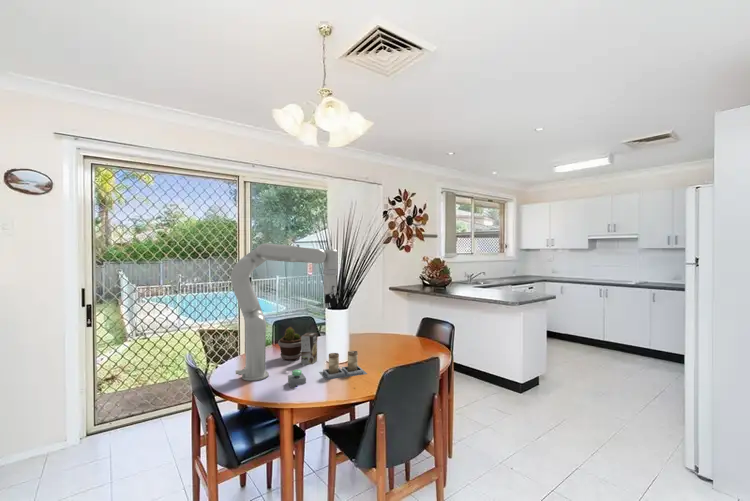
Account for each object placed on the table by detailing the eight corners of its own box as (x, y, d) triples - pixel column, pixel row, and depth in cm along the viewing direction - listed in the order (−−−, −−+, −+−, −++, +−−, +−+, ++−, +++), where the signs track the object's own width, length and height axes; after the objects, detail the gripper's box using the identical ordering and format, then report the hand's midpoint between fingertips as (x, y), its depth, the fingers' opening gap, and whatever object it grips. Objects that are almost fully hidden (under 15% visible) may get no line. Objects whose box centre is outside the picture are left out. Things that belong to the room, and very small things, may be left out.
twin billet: (330, 376, 178) (330, 355, 178) (327, 373, 183) (327, 353, 183) (340, 375, 180) (340, 354, 180) (336, 372, 185) (337, 351, 185)
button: (293, 381, 168) (293, 373, 168) (291, 378, 172) (291, 370, 172) (302, 380, 170) (302, 372, 170) (300, 377, 174) (300, 369, 174)
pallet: (325, 382, 174) (325, 376, 174) (318, 374, 185) (318, 369, 185) (367, 376, 182) (367, 370, 182) (359, 369, 193) (359, 363, 193)
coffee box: (311, 365, 199) (311, 336, 199) (300, 364, 200) (300, 335, 200) (317, 360, 208) (317, 332, 208) (307, 359, 209) (307, 332, 209)
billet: (349, 373, 182) (349, 353, 182) (346, 370, 187) (346, 350, 187) (358, 372, 184) (359, 352, 184) (355, 369, 189) (355, 349, 189)
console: (290, 387, 167) (290, 380, 167) (288, 382, 173) (288, 375, 173) (305, 385, 169) (305, 378, 169) (302, 380, 176) (302, 373, 176)
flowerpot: (282, 354, 220) (282, 321, 220) (307, 355, 218) (307, 322, 218) (273, 361, 205) (273, 326, 205) (300, 362, 204) (300, 327, 204)
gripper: (319, 271, 201) (319, 302, 201) (328, 273, 185) (328, 307, 185) (332, 271, 204) (332, 301, 204) (342, 273, 188) (342, 306, 188)
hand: (330, 304), depth 194 cm, fingers open, 9 cm apart
